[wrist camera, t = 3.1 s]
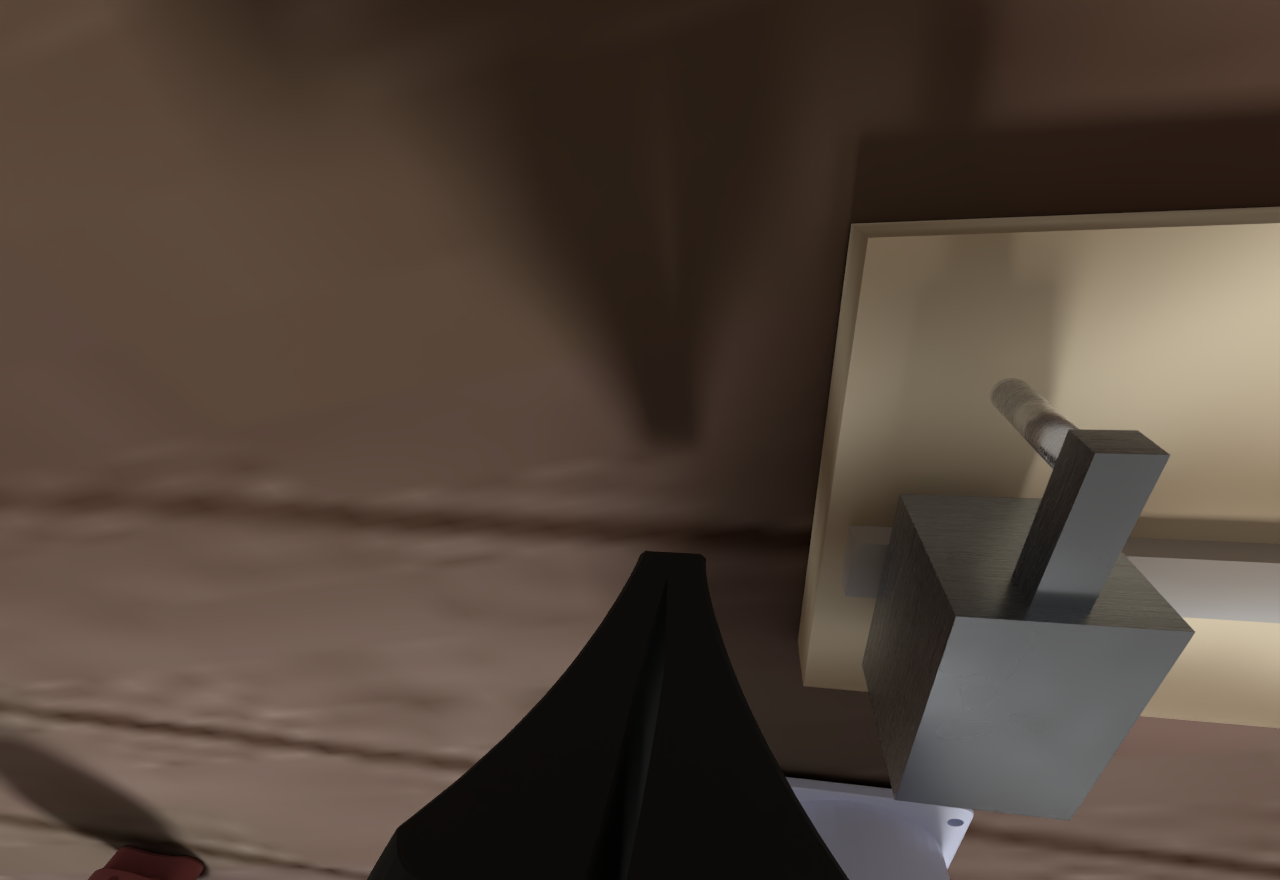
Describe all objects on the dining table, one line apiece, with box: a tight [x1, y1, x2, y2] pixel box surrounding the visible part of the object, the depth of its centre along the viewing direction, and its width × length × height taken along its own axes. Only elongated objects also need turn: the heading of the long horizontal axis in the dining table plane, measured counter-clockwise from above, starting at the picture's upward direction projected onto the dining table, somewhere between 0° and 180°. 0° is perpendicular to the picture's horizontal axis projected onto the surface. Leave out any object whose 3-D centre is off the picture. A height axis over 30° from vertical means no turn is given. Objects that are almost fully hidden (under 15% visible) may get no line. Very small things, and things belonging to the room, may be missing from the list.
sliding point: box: [862, 378, 1195, 821], centre depth 10 cm, size 8×3×4 cm, turn 4°
